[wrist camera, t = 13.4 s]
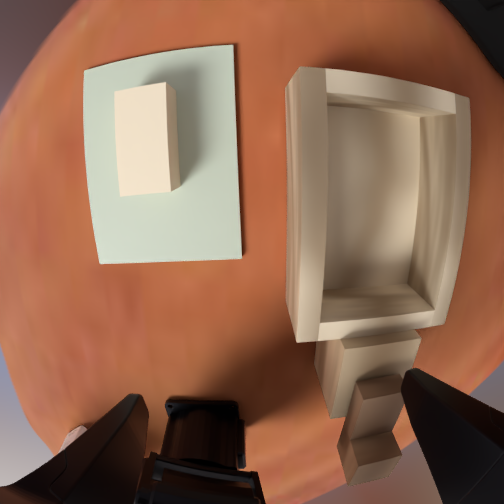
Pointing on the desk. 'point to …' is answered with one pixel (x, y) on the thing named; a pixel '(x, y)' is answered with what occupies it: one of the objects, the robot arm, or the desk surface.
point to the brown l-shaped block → (371, 430)
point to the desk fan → (483, 26)
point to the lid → (163, 157)
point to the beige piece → (371, 219)
